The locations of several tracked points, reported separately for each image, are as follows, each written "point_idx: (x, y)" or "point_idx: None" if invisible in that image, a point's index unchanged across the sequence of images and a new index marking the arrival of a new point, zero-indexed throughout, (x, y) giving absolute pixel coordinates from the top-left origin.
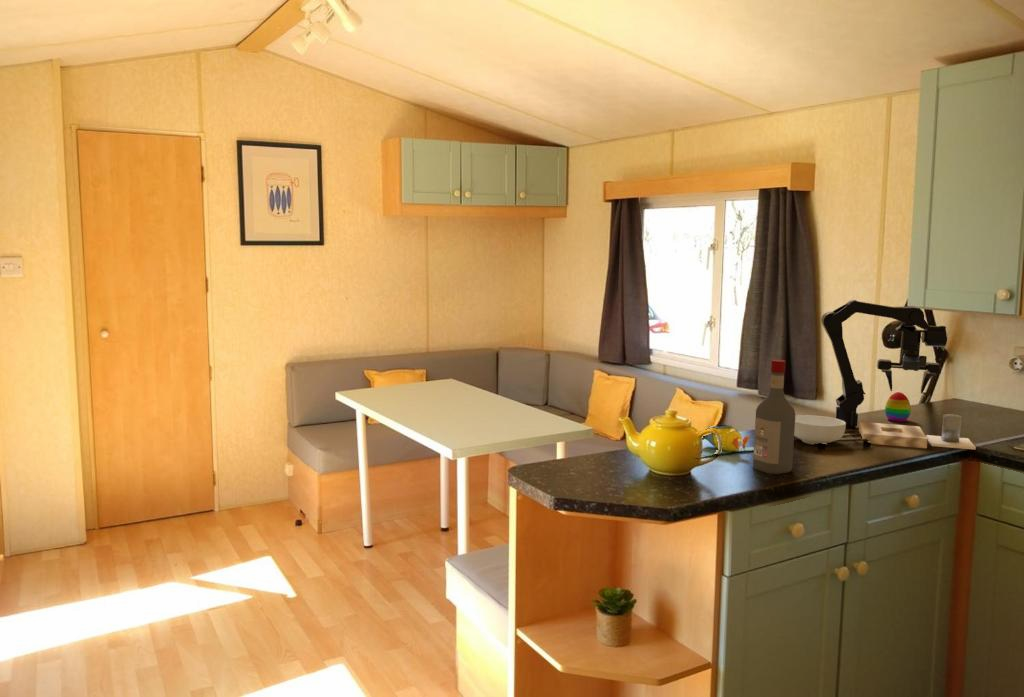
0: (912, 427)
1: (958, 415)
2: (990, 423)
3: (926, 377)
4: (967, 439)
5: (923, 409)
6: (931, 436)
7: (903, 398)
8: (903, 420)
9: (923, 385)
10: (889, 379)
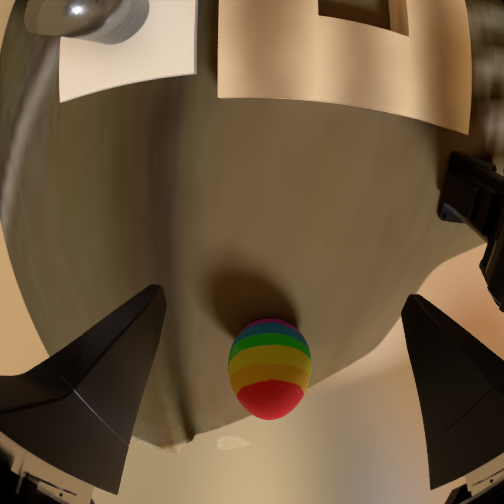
0: (257, 57)
1: (28, 23)
2: (68, 343)
3: (39, 393)
4: (63, 80)
5: (196, 417)
6: (176, 52)
7: (256, 389)
8: (253, 322)
9: (115, 328)
10: (488, 357)
